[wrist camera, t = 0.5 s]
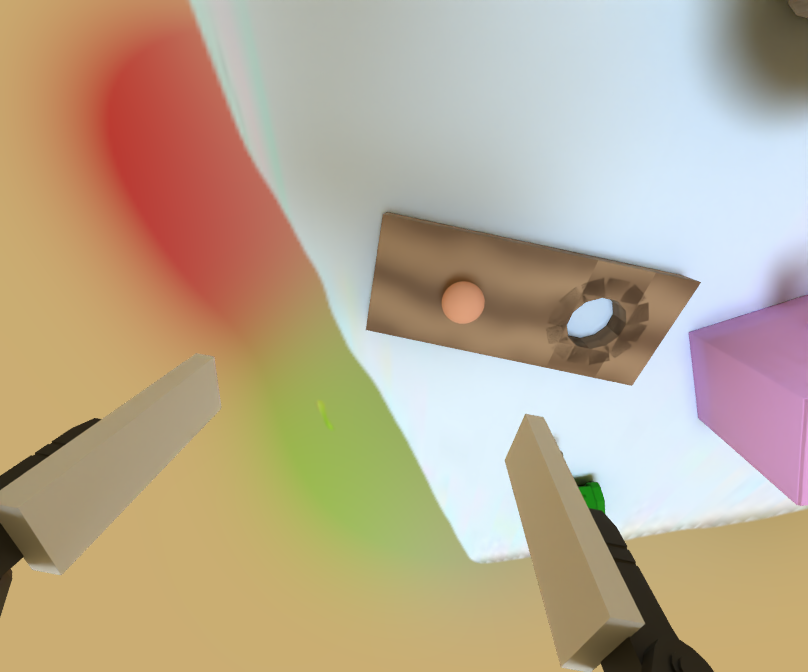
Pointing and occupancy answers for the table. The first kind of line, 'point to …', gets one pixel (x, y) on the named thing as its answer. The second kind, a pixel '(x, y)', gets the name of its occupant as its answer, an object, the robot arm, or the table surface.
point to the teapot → (759, 390)
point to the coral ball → (463, 302)
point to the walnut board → (521, 299)
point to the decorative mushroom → (799, 7)
